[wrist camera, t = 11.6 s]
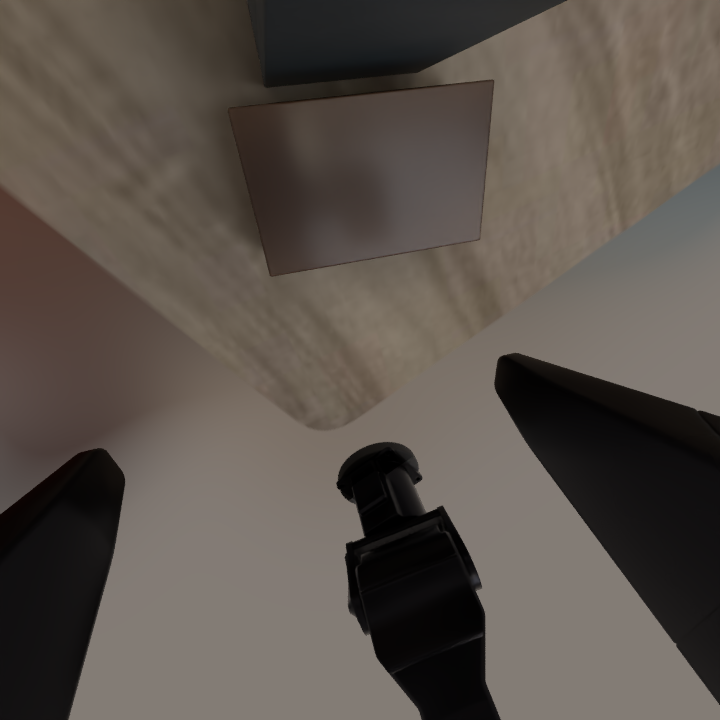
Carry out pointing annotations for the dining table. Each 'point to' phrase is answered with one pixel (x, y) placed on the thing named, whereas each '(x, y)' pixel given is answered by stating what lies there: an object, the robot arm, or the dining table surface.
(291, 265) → the metal block
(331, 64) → the bin
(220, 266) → the dining table surface
